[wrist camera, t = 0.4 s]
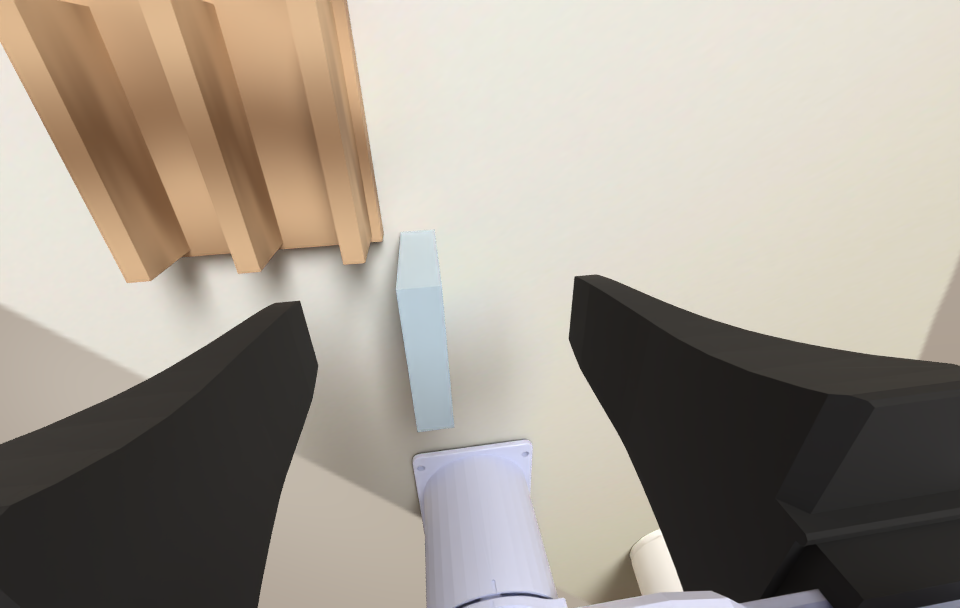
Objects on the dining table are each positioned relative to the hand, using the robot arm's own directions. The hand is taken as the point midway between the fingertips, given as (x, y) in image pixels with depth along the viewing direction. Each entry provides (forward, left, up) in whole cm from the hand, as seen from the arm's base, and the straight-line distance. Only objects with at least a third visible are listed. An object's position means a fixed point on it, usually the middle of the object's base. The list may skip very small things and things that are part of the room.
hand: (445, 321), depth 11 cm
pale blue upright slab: (-4, +1, -10) cm, 10 cm away
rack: (+4, +7, -9) cm, 12 cm away
